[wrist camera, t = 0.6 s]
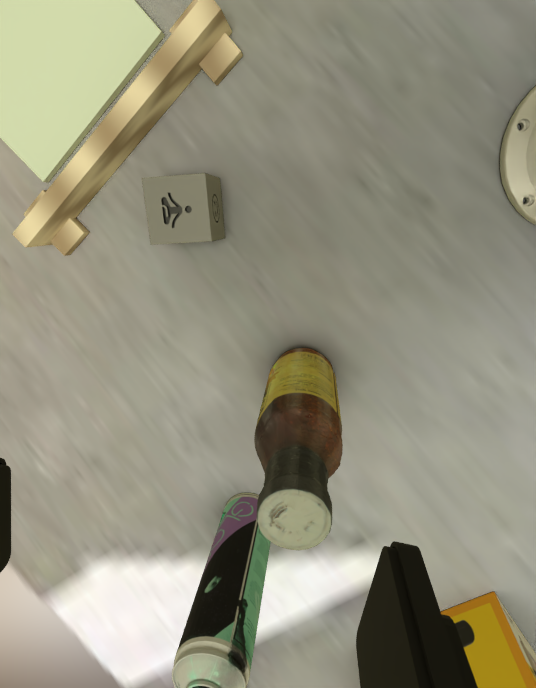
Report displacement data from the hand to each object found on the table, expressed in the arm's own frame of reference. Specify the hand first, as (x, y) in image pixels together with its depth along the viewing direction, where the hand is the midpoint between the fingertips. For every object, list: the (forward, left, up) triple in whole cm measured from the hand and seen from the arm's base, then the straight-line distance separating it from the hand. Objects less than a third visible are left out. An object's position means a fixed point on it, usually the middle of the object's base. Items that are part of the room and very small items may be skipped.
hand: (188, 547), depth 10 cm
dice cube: (0, -12, -31) cm, 33 cm away
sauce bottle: (+4, +6, -31) cm, 31 cm away
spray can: (+19, +14, -31) cm, 39 cm away
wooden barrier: (+1, -20, -30) cm, 36 cm away
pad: (+1, -28, -30) cm, 41 cm away
